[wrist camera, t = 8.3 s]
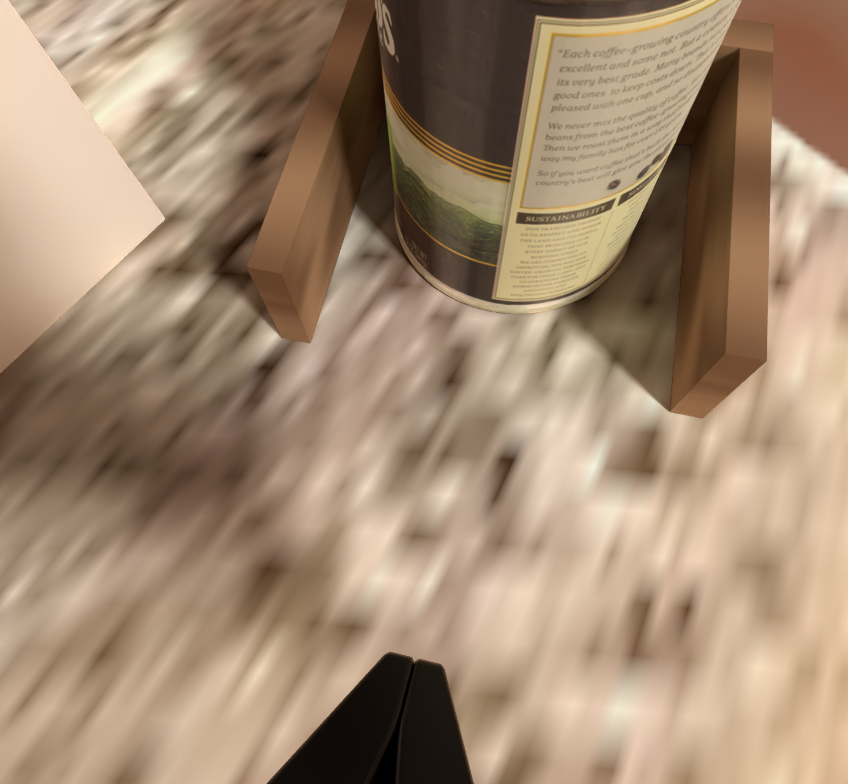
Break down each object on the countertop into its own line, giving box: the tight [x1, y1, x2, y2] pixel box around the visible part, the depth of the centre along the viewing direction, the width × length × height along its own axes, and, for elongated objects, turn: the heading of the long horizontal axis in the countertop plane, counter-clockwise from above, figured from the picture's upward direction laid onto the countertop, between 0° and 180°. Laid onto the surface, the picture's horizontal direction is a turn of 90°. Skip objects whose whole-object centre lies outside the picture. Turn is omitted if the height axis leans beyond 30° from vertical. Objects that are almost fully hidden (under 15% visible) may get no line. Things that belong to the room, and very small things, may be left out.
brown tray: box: [246, 0, 774, 418], centre depth 25 cm, size 14×16×5 cm
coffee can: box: [375, 0, 741, 314], centre depth 21 cm, size 10×10×14 cm
